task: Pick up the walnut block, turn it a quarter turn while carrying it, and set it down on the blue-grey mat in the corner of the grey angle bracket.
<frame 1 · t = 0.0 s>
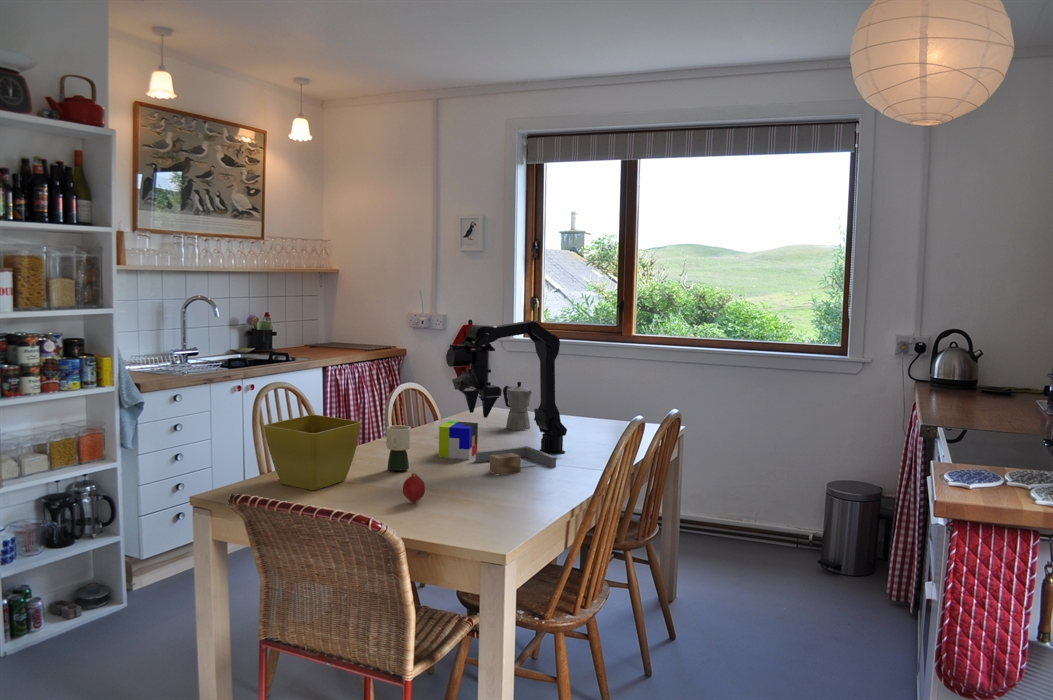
hand: (478, 415, 245), 15 cm above the table, tool pointing down, fingers open, 9 cm apart
coffeepot: (516, 428, 300), on the table
flower pot: (313, 483, 217), on the table
grey angle bracket: (526, 455, 256), on the table
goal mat: (518, 463, 244), on the table
onion: (413, 503, 200), on the table
walnut block: (504, 472, 234), on the table
puzzle toy: (458, 455, 254), on the table
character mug: (398, 471, 232), on the table
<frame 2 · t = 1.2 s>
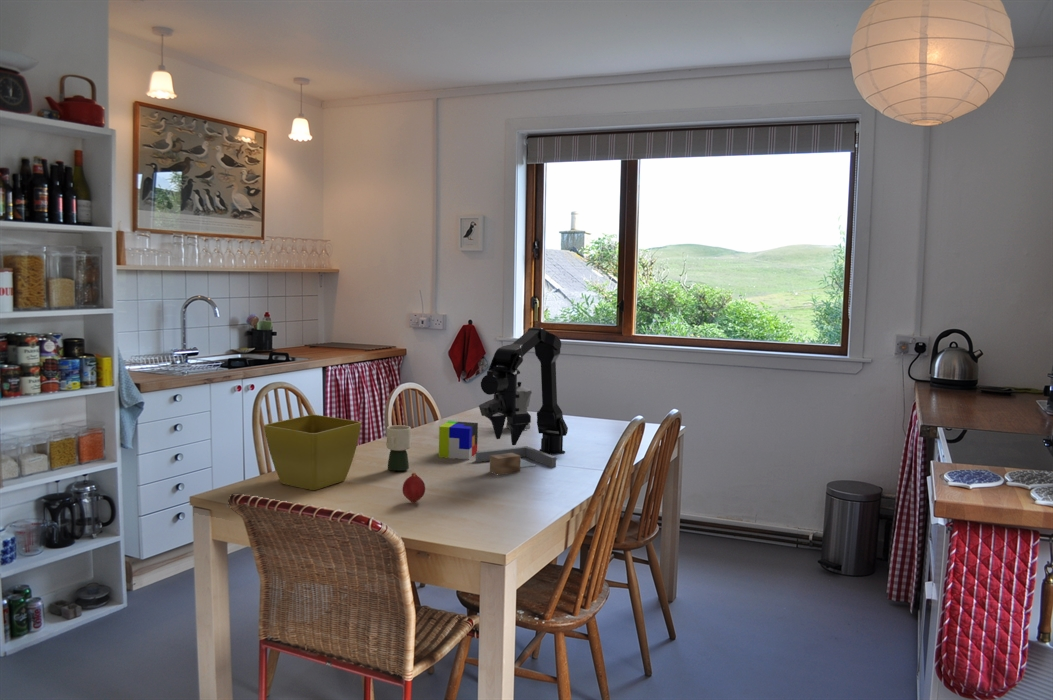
hand: (505, 442, 233), 9 cm above the table, tool pointing down, fingers open, 9 cm apart
nothing on the table moved.
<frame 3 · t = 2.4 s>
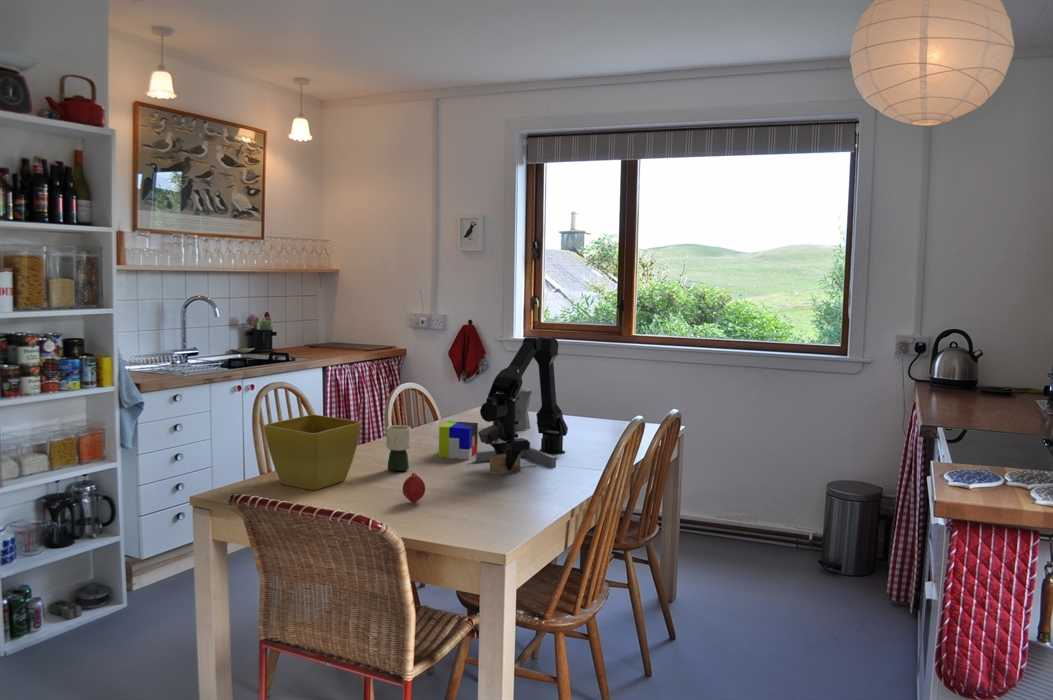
hand: (505, 468, 234), 1 cm above the table, tool pointing down, fingers closed on walnut block, 5 cm apart
walnut block: (505, 471, 234), on the table, touching gripper
everything else where it was.
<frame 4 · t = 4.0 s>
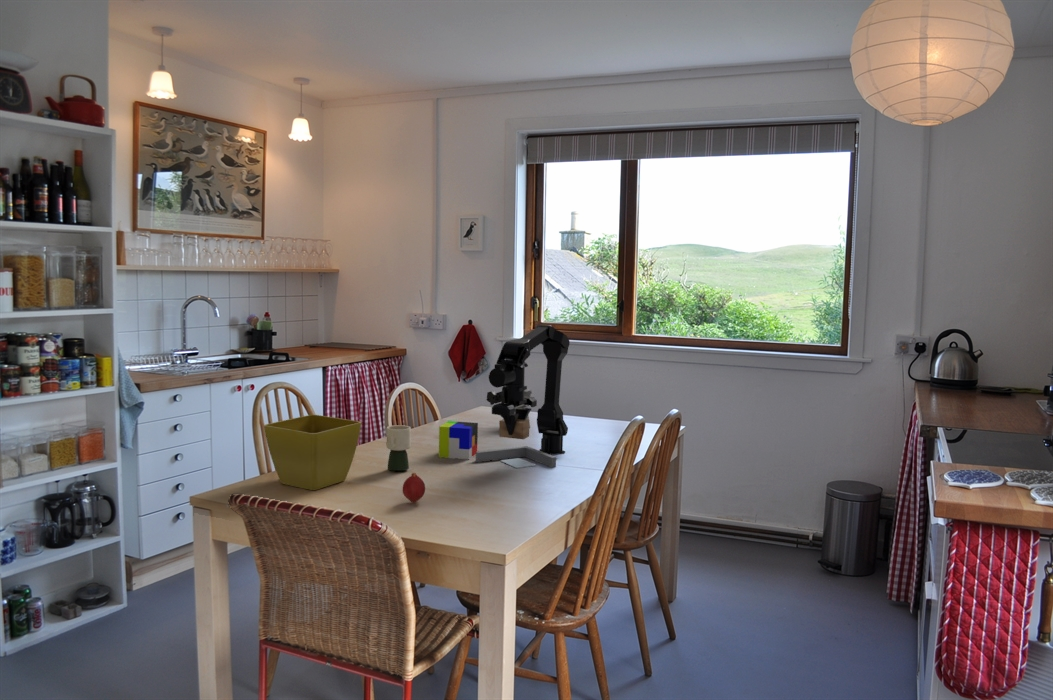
hand: (514, 433, 239), 10 cm above the table, tool pointing down, fingers closed on walnut block, 5 cm apart
walnut block: (514, 436, 240), point 9 cm above the table, touching gripper
everything else where it was.
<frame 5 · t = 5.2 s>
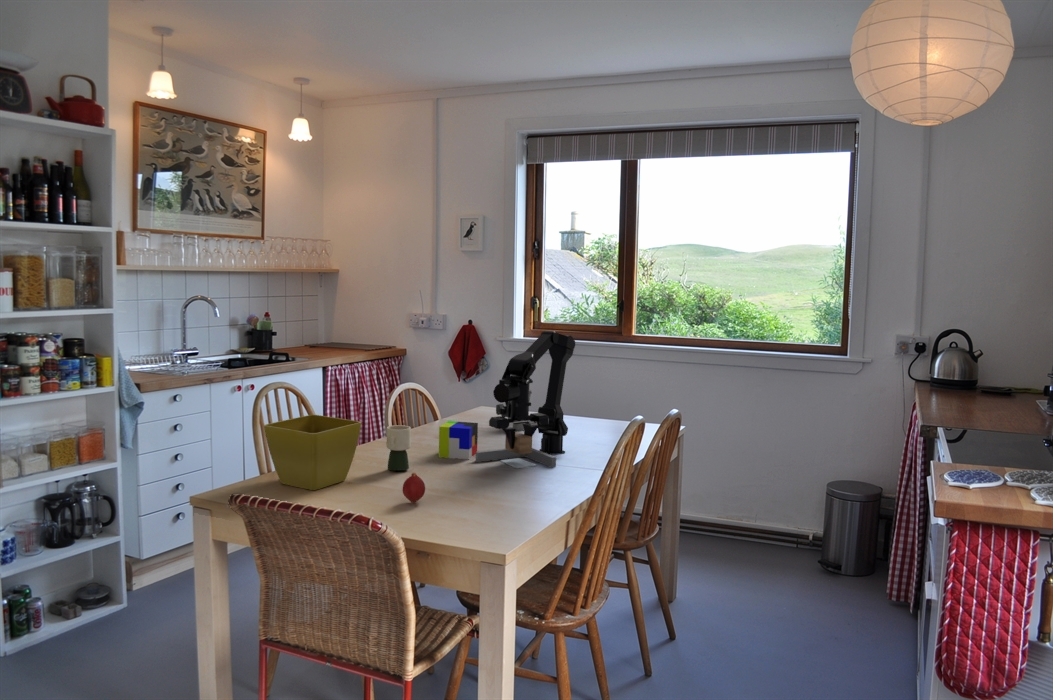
hand: (518, 447, 244), 5 cm above the table, tool pointing down, fingers closed on walnut block, 5 cm apart
walnut block: (518, 451, 244), point 4 cm above the table, touching gripper
everything else where it was.
when the fingers open (3 cm above the table, at t = 5.9 s): walnut block drops 1 cm, resting on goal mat.
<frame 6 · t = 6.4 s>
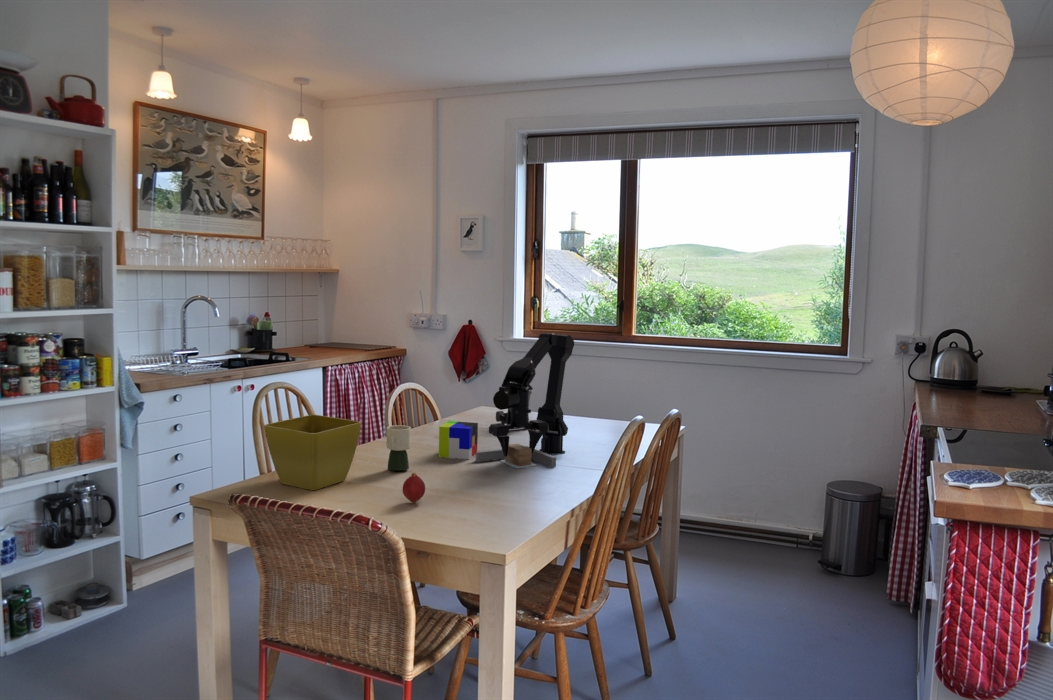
hand: (518, 454, 244), 3 cm above the table, tool pointing down, fingers open, 9 cm apart
walnut block: (518, 462, 244), resting on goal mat
everything else where it was.
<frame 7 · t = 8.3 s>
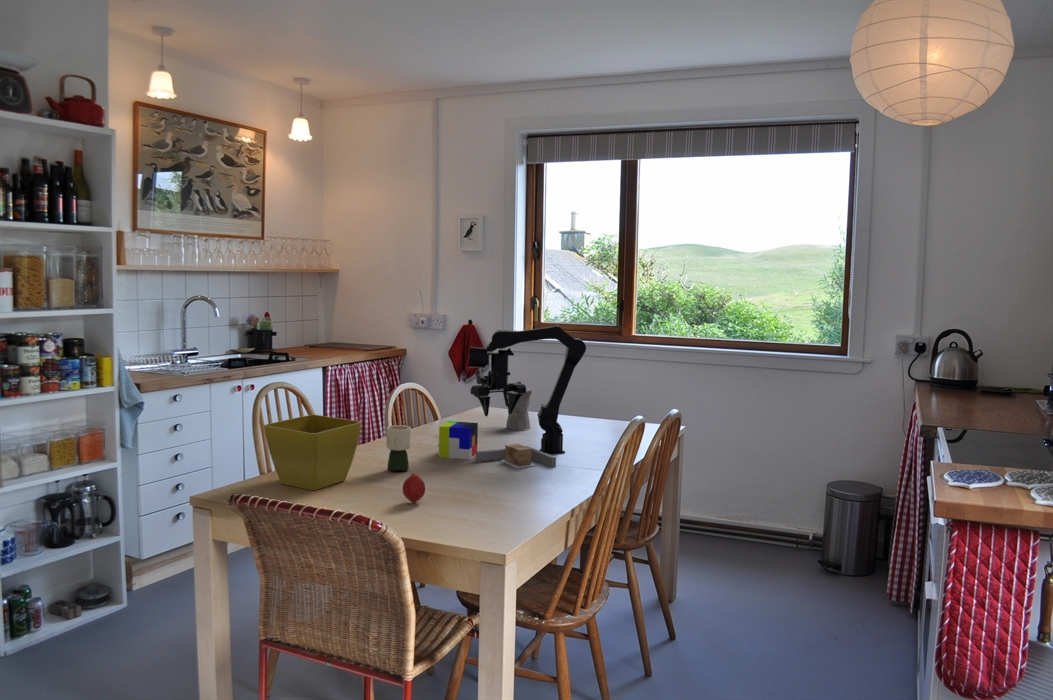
hand: (498, 415, 259), 12 cm above the table, tool pointing down, fingers open, 9 cm apart
nothing on the table moved.
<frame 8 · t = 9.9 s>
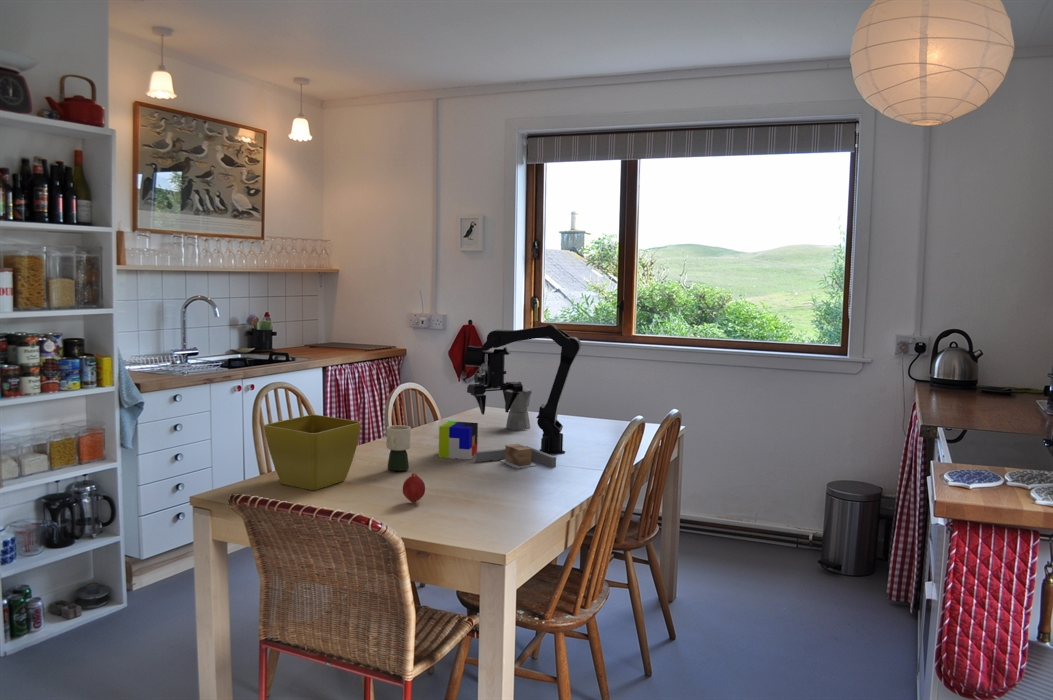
hand: (494, 413, 263), 12 cm above the table, tool pointing down, fingers open, 9 cm apart
nothing on the table moved.
at the end: walnut block inside the target area (0.0 cm from its centre), resting on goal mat; walnut block tilted 0°; the gripper is holding nothing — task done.
